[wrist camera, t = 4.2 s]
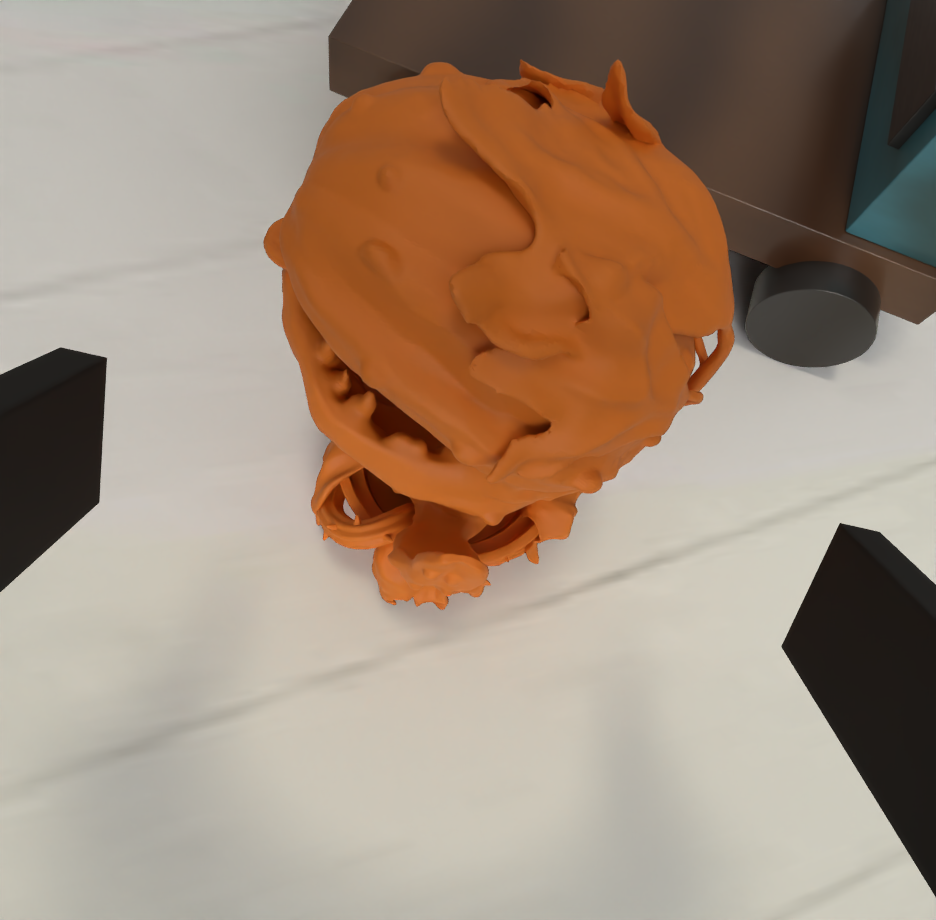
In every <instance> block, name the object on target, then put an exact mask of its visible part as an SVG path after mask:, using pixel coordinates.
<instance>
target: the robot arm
mask: <svg viewBox="0 0 936 920" xmlns="http://www.w3.org/2000/svg"><path fill="white" fill-rule="evenodd" d="M106 364H107V358H105V357H101V356H96V355H92V354H87V353H83V352H78V351H74V350H70V349H65V348H58V349H56V350H54V351H52V352H50V353H47V354H45V355H43V356H41V357H38V358H36V359H34V360H32V361H30V362H27V363H25V364H23V365H21V366H19V367H16V368H14V369H12V370H10V371H8V372H5V373H3V374H1V375H0V592H1V591H2V590H3V589H4V588H5V587H7V586H8V585H9V584H10V583H11V582H12V581H13V580H14V579H15V578H16V577H18V576H19V575H20V574H21V573H22V572H23V571H24V570H25V569H26V568H27V567H29V566H30V565H31V564H32V563H33V562H34V561H35V560H36V559H37V558H39V557H40V556H41V555H42V554H43V553H44V552H45V551H46V550H47V549H48V548H50V547H51V546H52V545H53V544H54V543H55V542H56V541H57V540H58V539H59V538H61V537H62V536H63V535H64V534H65V533H66V532H67V531H68V530H69V529H70V528H72V527H73V526H74V525H75V524H76V523H77V522H78V521H79V520H80V519H82V518H83V517H84V516H85V515H86V514H87V513H88V512H89V511H90V510H91V509H93V508H94V507H95V506H96V505H97V504H98V503H99V496H100V477H101V458H102V440H103V421H104V402H105V383H106ZM781 647H782V648H783V650H784V652H785V653H786V655H787V657H788V658H789V660H790V661H791V663H792V665H793V666H794V668H795V670H796V671H797V673H798V674H799V676H800V678H801V679H802V681H803V683H804V684H805V686H806V687H807V689H808V691H809V692H810V694H811V695H812V697H813V699H814V700H815V702H816V704H817V705H818V707H819V708H820V710H821V712H822V713H823V715H824V717H825V718H826V720H827V721H828V723H829V725H830V726H831V728H832V730H833V731H834V733H835V734H836V736H837V738H838V739H839V741H840V743H841V744H842V746H843V747H844V749H845V751H846V752H847V754H848V755H849V757H850V759H851V760H852V762H853V764H854V765H855V767H856V768H857V770H858V772H859V773H860V775H861V777H862V778H863V780H864V781H865V783H866V785H867V786H868V788H869V790H870V791H871V793H872V794H873V796H874V798H875V799H876V801H877V803H878V804H879V806H880V807H881V809H882V811H883V812H884V814H885V815H886V817H887V819H888V820H889V822H890V824H891V825H892V827H893V828H894V830H895V832H896V833H897V835H898V837H899V838H900V840H901V841H902V843H903V845H904V846H905V848H906V850H907V851H908V853H909V854H910V856H911V858H912V859H913V861H914V863H915V864H916V866H917V867H918V869H919V871H920V872H921V874H922V875H923V877H924V879H925V880H926V882H927V884H928V885H929V887H930V888H931V890H932V892H933V893H934V895H935V897H936V585H935V584H934V583H933V582H932V581H931V580H930V579H929V578H928V577H927V576H926V575H925V574H924V573H923V572H922V571H921V570H919V569H918V568H917V567H916V566H915V565H914V564H913V563H912V562H911V561H910V560H909V559H908V558H907V557H906V556H905V555H903V554H902V553H901V552H900V551H899V550H898V549H897V548H896V547H895V546H894V545H893V544H892V543H891V542H890V541H889V540H887V539H886V538H885V537H884V536H883V535H882V534H881V533H880V532H877V531H873V530H868V529H864V528H859V527H855V526H850V525H846V524H841V523H840V524H839V526H838V528H837V530H836V533H835V535H834V537H833V539H832V541H831V543H830V545H829V547H828V549H827V552H826V554H825V556H824V558H823V560H822V562H821V564H820V566H819V568H818V571H817V573H816V575H815V577H814V579H813V581H812V583H811V585H810V587H809V589H808V592H807V594H806V596H805V598H804V600H803V602H802V604H801V606H800V608H799V611H798V613H797V615H796V617H795V619H794V621H793V623H792V625H791V627H790V630H789V632H788V634H787V636H786V638H785V640H784V642H783V644H782V646H781Z"/></svg>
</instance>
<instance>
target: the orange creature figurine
mask: <svg viewBox="0 0 936 920" xmlns="http://www.w3.org/2000/svg"><path fill="white" fill-rule="evenodd" d="M519 71H520V75H521V77H522V78H521V79H520V80H518V79H517V80H505V79H495V80H490V79H485V78H481V77H476V76H471V75H466V74H463V73H461V72H460V71H459V70H458V69H457V68H455V67H454V66H452V65H451V64H449V63H444V62H434V63H430V64H428V65H427V66H426V67H425V68H424V69H423V70H422V72H421V74H420V75H417V76H413V77H406V78H402V79H397V80H394V81H390V82H385V83H382V84H379V85H377V86H374V87H370V88H367V89H363V90H361V91H359V92H357V93H355V94H354V95H352V96H350V97H349V98H347V99H345V100H344V101H342V102H341V103H340V104H339V105H338V106H337V107H336V108H335V109H334V111H333V112H332V114H331V116H330V118H329V120H328V121H327V123H326V124H325V126H324V127H323V129H322V131H321V133H320V136H319V139H318V142H317V146H316V150H315V153H314V157H313V160H312V162H311V164H310V166H309V168H308V170H307V173H306V176H305V179H304V181H303V184H302V185H301V187H300V188H299V189H298V191H297V193H296V195H295V198H294V200H293V202H292V204H291V206H290V208H289V209H288V211H287V213H286V215H285V217H284V218H282V219H280V220H278V221H276V222H274V223H273V224H272V225H271V226H270V228H269V229H268V231H267V233H266V236H265V238H264V248H265V251H266V253H267V255H268V257H269V258H270V259H271V260H272V261H273V262H274V263H275V264H277V265H278V266H280V267H282V268H283V270H282V292H283V310H282V321H283V327H284V331H285V334H286V336H287V339H288V342H289V344H290V347H291V349H292V351H293V354H294V355H295V357H296V359H297V360H298V362H299V365H300V369H301V373H302V377H303V382H304V386H305V391H306V396H307V400H308V405H309V410H310V413H311V416H312V418H313V420H314V422H315V424H316V426H317V427H318V429H319V430H320V431H321V432H322V433H324V434H325V435H326V436H327V437H328V438H329V439H330V440H331V442H330V443H329V444H328V446H327V448H326V451H325V453H324V456H323V461H324V462H323V465H322V468H321V470H320V473H319V475H318V478H317V481H316V487H315V492H314V495H313V497H312V500H311V507H312V511H313V512H314V513H315V514H316V523H317V525H321V526H322V528H323V530H324V534H323V540H326V539H327V538H328V537H330V538H331V539H333V540H334V541H335V542H336V543H338V544H340V545H342V546H344V547H347V548H352V549H371V548H376V549H375V551H374V556H373V564H372V572H373V574H374V576H375V578H376V579H377V581H378V584H379V589H380V594H381V596H382V598H383V599H384V600H385V601H386V602H388V603H391V604H393V605H396V602H395V600H404V601H409V600H410V599H411V598H412V597H414V602H415V604H416V606H417V607H418V606H420V605H421V604H422V603H426V602H433V603H435V604H436V606H437V607H438V608H439V609H441V610H443V609H445V607H446V606H447V604H448V597H447V596H451V595H452V594H456V593H460V592H464V593H469V594H470V595H471V596H473V597H479V596H480V595H481V594H482V592H483V590H484V586H485V585H491V584H490V582H489V581H488V580H487V577H488V574H489V569H488V567H487V566H498V565H501V564H502V563H504V562H506V561H507V562H509V560H511V559H514V558H516V557H519V556H521V555H522V554H524V553H526V554H527V558H528V559H529V561H531V562H532V563H535V564H538V562H539V557H538V548H537V543H541V542H543V541H545V540H549V539H566V538H567V537H568V536H569V534H570V530H571V526H572V523H573V519H574V517H575V516H576V514H577V512H578V511H577V508H576V507H575V503H576V500H577V498H578V497H579V495H580V494H581V493H595V492H597V491H598V490H600V488H601V487H602V482H605V481H608V480H611V479H613V478H615V477H616V475H617V473H618V471H619V469H620V468H621V467H622V466H623V465H625V464H627V463H629V462H630V461H631V460H632V459H633V458H634V457H635V456H636V455H637V454H638V453H639V452H640V451H641V450H642V449H643V448H644V447H645V446H648V447H652V446H655V445H657V444H658V443H659V442H660V441H661V435H663V434H665V432H666V431H667V430H668V429H669V427H670V425H671V423H672V421H673V418H674V417H675V415H676V414H677V412H678V411H679V410H680V409H682V407H683V406H687V405H691V404H699V403H700V402H702V400H703V394H702V393H701V392H699V391H700V390H701V389H702V388H703V387H704V386H705V385H706V384H707V382H708V381H709V380H710V379H711V377H712V376H713V375H714V374H715V373H716V371H717V370H718V369H719V367H720V366H721V365H722V364H723V362H724V361H725V359H726V358H727V357H728V355H729V353H730V351H731V349H732V347H733V344H734V338H735V336H734V331H733V328H732V325H731V324H732V321H733V315H734V295H733V288H732V279H731V277H732V276H731V269H730V264H729V258H728V246H727V238H726V234H725V231H724V227H723V224H722V220H721V217H720V214H719V212H718V209H717V207H716V204H715V202H714V200H713V198H712V196H711V194H710V193H709V191H708V190H707V188H706V186H705V185H704V184H703V183H702V181H701V180H700V179H699V178H698V176H697V175H696V174H695V173H694V172H693V171H692V170H691V169H690V168H689V167H688V166H687V165H685V164H684V163H683V162H682V161H680V160H679V159H678V158H677V157H676V156H674V155H673V154H672V153H671V152H670V151H668V150H667V149H666V148H665V147H664V145H663V144H662V142H661V139H660V137H659V135H658V132H657V130H656V129H655V128H654V127H653V126H652V124H651V123H650V122H648V121H647V120H645V119H643V118H642V117H640V116H639V115H638V114H637V113H635V111H634V110H633V109H632V107H631V105H630V102H629V100H628V94H627V80H626V73H625V70H624V68H623V65H622V62H621V61H619V60H616V61H615V62H614V63H613V64H612V66H611V67H610V71H609V74H608V80H607V82H606V84H605V85H606V87H605V89H603V88H601V87H597V86H594V85H591V84H589V83H586V82H582V81H576V80H569V79H564V78H561V77H558V76H555V75H553V74H551V73H548V72H546V71H541V70H539V69H537V68H535V67H533V66H531V65H530V64H528V63H527V62H525V61H523V60H520V66H519ZM716 330H718V334H717V335H718V337H717V338H718V344H717V347H716V348H715V350H714V351H713V352H712V354H711V355H710V356H709V357H708V356H707V352H706V350H705V346H704V343H703V339H702V337H703V336H709V335H711V334H713V333H714V332H715V331H716ZM695 351H696V353H697V355H698V357H699V361H700V366H699V368H698V369H697V370H696V372H695V373H694V374H693V375H692V376H691V373H692V371H693V368H694V366H695ZM690 376H691V377H690ZM345 498H346V500H347V502H348V504H349V506H350V507H351V509H352V510H353V512H354V513H355V515H356V516H355V520H353V519H351V518H350V517H349V516H347V515H346V514H345V512H344V510H343V503H344V500H345Z"/></svg>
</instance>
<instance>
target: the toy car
mask: <svg viewBox="0 0 936 920" xmlns="http://www.w3.org/2000/svg"><path fill="white" fill-rule="evenodd" d="M520 60H523V61H525V62H527V63H528V64H530V65H531V66H533V67H535V68H537V69H539V70H541V71H546V72H548V73H551V74H553V75H555V76H558V77H561V78H564V79H569V80H576V81H582V82H586V83H589V84H591V85H594V86H597V87H601V88H603V89H605V87H606V85H605V84H606V82H607V80H608V74H609V71H610V67H611V66H612V64H613V63H614V62H615V61H616V60H619V61H621V62H622V65H623V68H624V70H625V73H626V80H627V94H628V100H629V102H630V105H631V107H632V109H633V110H634V111H635V113H637V114H638V115H639V116H640V117H642V118H643V119H645V120H647V121H648V122H650V123H651V124H652V126H653V127H654V128H655V129H656V130H657V132H658V135H659V137H660V139H661V142H662V144H663V145H664V147H665V148H666V149H667V150H668V151H670V152H671V153H672V154H673V155H674V156H676V157H677V158H678V159H679V160H680V161H682V162H683V163H684V164H685V165H687V166H688V167H689V168H690V169H691V170H692V171H693V172H694V173H695V174H696V175H697V176H698V178H699V179H700V180H701V181H702V183H703V184H704V185H705V186H706V188H707V190H708V191H709V193H710V194H711V196H712V198H713V200H714V202H715V204H716V207H717V209H718V212H719V214H720V217H721V220H722V224H723V227H724V231H725V234H726V238H727V246H728V249H729V250H732V251H734V252H737V253H739V254H742V255H744V256H747V257H749V258H752V259H754V260H757V261H759V262H762V263H764V264H767V265H769V266H768V267H767V268H766V269H765V270H764V271H763V272H762V273H761V274H760V275H759V277H758V278H757V280H756V282H755V285H754V289H753V293H752V297H751V301H750V305H749V310H748V314H747V318H746V323H745V328H746V333H747V336H748V338H749V340H750V341H751V343H752V344H753V345H754V346H755V347H756V348H757V349H758V350H759V351H761V352H762V353H763V354H765V355H767V356H769V357H770V358H773V359H775V360H777V361H780V362H783V363H786V364H790V365H795V366H802V367H827V366H833V365H838V364H842V363H845V362H848V361H851V360H853V359H855V358H857V357H859V356H860V355H862V354H863V353H864V352H865V351H867V350H868V349H869V347H870V346H871V345H872V344H873V342H874V340H875V337H876V334H877V327H878V320H879V314H880V310H882V311H885V312H887V313H890V314H892V315H895V316H897V317H900V318H902V319H905V320H907V321H910V322H912V323H915V324H920V323H921V322H922V321H924V320H925V319H926V318H928V317H929V316H930V315H931V314H933V313H934V312H935V311H936V0H352V1H351V3H350V5H349V6H348V8H347V9H346V11H345V12H344V14H343V15H342V17H341V18H340V20H339V21H338V23H337V24H336V26H335V27H334V29H333V30H332V32H331V34H330V35H329V85H330V90H331V91H333V92H335V93H338V94H340V95H343V96H345V97H348V98H349V97H350V96H352V95H354V94H355V93H357V92H359V91H361V90H363V89H367V88H370V87H374V86H377V85H379V84H382V83H385V82H390V81H394V80H397V79H402V78H406V77H413V76H417V75H420V74H421V72H422V70H423V69H424V68H425V67H426V66H427V65H428V64H430V63H434V62H444V63H449V64H451V65H452V66H454V67H455V68H457V69H458V70H459V71H460V72H461V73H463V74H466V75H471V76H476V77H481V78H485V79H490V80H495V79H505V80H517V79H518V80H520V79H521V78H522V77H521V75H520V71H519V66H520Z"/></svg>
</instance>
